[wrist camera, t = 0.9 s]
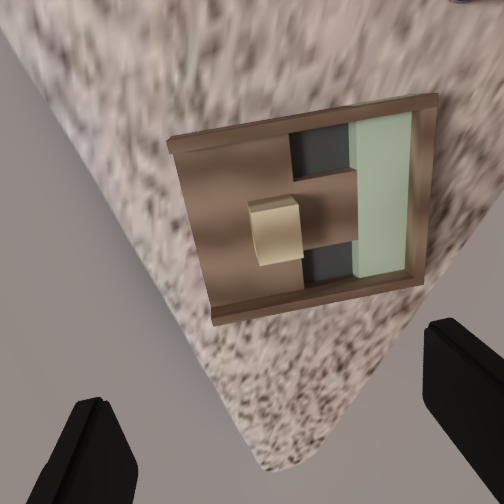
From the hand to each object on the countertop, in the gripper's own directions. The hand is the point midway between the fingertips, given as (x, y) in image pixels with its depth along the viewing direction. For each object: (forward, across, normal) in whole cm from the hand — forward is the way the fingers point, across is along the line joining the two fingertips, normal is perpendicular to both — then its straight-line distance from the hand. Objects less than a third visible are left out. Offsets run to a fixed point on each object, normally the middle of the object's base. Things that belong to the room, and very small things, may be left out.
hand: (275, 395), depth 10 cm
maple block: (+23, -4, +2) cm, 23 cm away
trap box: (+25, -7, +2) cm, 26 cm away
